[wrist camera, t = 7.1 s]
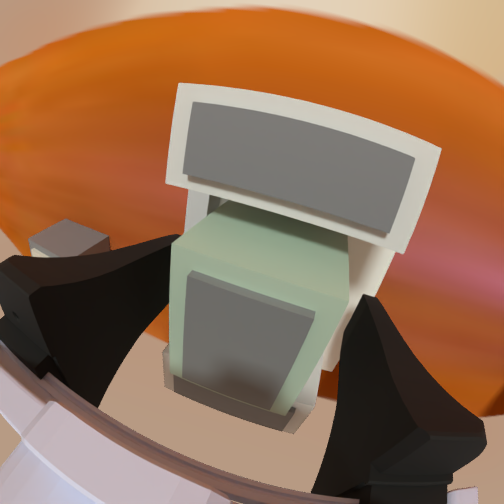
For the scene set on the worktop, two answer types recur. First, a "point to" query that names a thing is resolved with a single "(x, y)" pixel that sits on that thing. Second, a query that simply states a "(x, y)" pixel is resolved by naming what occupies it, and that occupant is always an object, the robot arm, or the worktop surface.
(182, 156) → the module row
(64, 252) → the block
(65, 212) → the worktop surface
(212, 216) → the green module
